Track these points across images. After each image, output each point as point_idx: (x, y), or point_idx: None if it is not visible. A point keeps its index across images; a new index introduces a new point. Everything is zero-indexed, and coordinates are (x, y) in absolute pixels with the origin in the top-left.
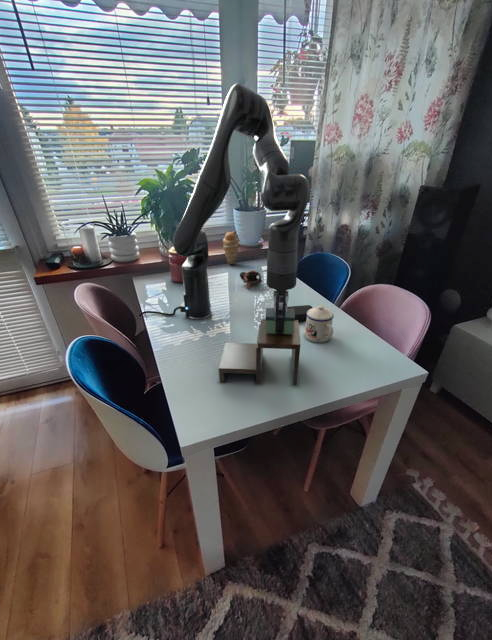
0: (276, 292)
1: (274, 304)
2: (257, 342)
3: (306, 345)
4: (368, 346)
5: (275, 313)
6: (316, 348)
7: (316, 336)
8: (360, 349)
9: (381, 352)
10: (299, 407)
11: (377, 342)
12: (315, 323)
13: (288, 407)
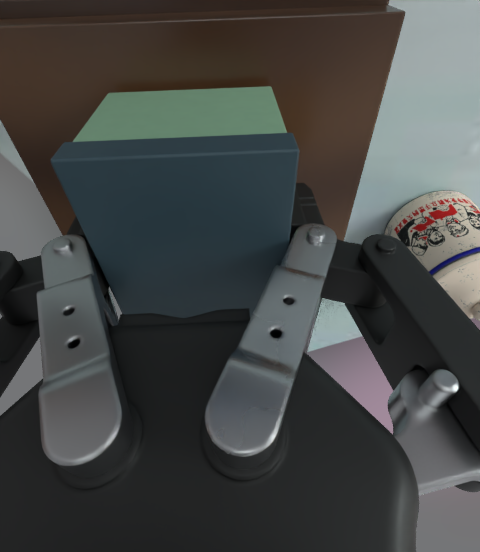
0: (206, 456)
1: (43, 352)
2: (58, 4)
3: (378, 192)
4: (340, 321)
5: (171, 244)
6: (352, 220)
7: (397, 235)
8: (329, 308)
9: (311, 335)
10: (24, 168)
11: (354, 334)
12: (424, 263)
13: (4, 135)
